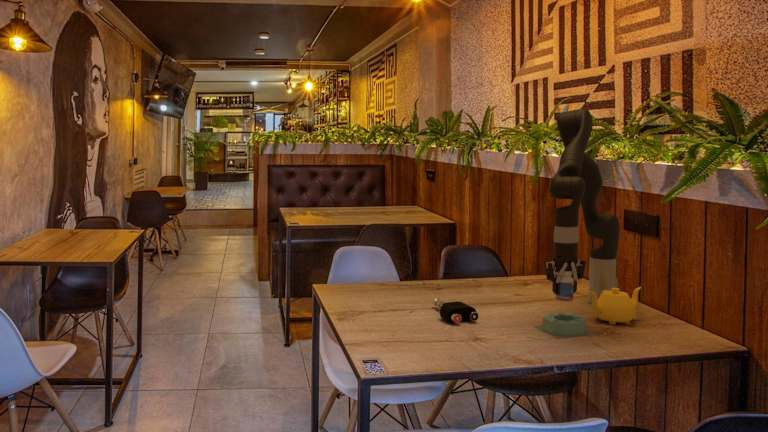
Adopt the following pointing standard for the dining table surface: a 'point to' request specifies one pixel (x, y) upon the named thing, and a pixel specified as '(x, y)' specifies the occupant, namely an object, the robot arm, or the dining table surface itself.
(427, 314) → the dining table surface
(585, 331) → the felt mat
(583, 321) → the green faceted planter
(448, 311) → the audio adapter
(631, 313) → the teapot
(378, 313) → the dining table surface
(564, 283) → the pill bottle
